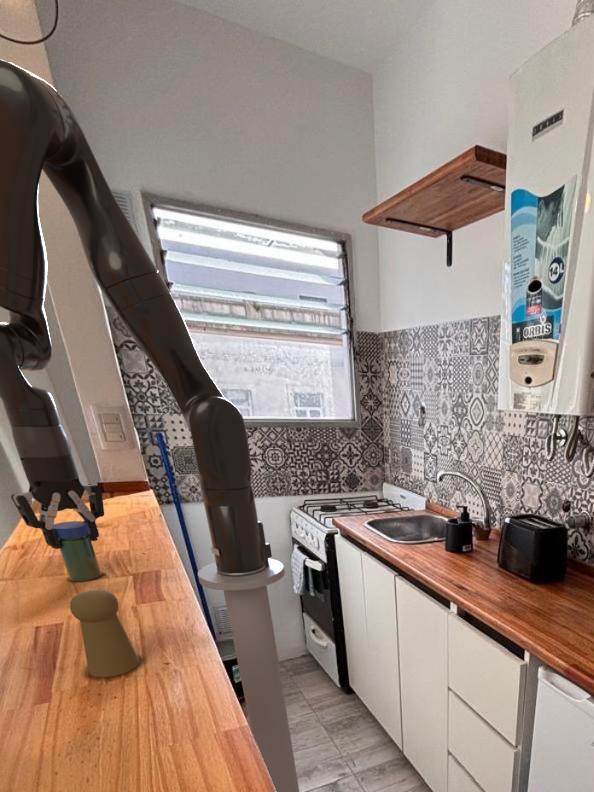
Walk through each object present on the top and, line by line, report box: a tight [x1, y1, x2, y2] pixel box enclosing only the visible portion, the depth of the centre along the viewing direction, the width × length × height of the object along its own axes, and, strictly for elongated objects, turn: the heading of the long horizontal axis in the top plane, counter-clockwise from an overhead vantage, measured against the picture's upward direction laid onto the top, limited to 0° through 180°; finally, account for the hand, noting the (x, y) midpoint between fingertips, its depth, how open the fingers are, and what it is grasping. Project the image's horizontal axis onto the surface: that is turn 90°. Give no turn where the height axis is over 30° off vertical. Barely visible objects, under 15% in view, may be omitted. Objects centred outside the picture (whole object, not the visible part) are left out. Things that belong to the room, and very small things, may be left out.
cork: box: [69, 589, 140, 678], centre depth 70 cm, size 6×6×11 cm
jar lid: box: [53, 520, 91, 539], centre depth 98 cm, size 6×6×2 cm
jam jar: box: [58, 535, 102, 582], centre depth 100 cm, size 5×5×10 cm
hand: (75, 543), depth 99 cm, fingers closed on jar lid, 5 cm apart
